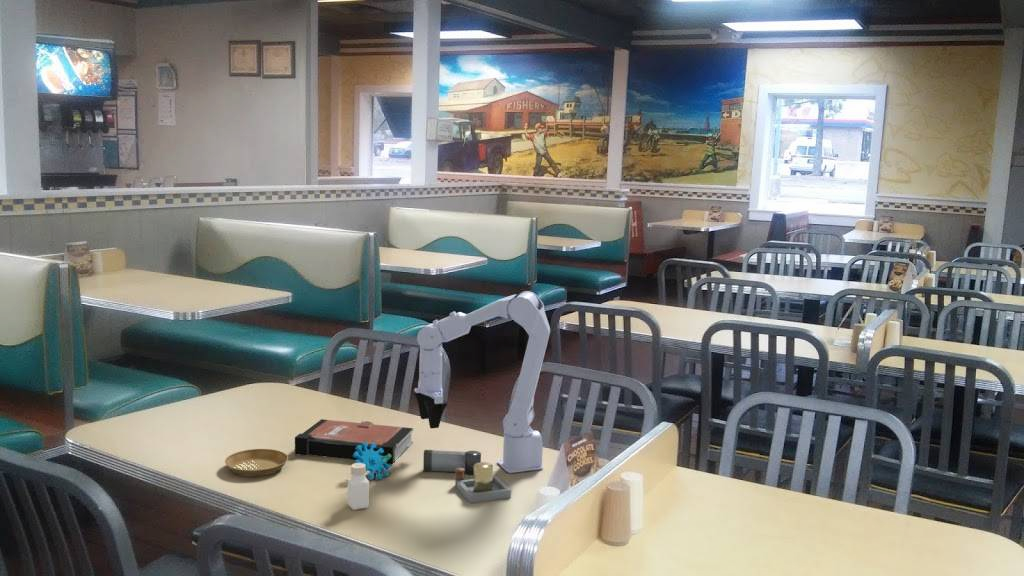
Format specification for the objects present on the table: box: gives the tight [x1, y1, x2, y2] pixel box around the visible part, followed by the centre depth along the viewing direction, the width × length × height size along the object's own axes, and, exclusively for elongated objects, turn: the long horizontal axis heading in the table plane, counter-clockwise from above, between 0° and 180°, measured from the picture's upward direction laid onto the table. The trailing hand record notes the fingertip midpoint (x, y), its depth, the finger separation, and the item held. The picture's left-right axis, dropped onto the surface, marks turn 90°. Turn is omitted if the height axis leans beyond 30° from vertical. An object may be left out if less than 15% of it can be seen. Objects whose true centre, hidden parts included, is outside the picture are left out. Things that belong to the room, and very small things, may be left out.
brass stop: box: [473, 461, 494, 493], centre depth 203 cm, size 4×4×6 cm
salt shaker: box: [347, 462, 370, 511], centre depth 193 cm, size 4×4×10 cm
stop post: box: [454, 468, 465, 488], centre depth 207 cm, size 2×2×4 cm
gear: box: [353, 442, 392, 481], centre depth 213 cm, size 11×6×10 cm
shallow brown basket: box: [224, 448, 289, 478], centre depth 214 cm, size 15×15×3 cm
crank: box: [422, 449, 482, 475], centre depth 216 cm, size 14×4×5 cm, turn 88°
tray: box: [456, 475, 512, 504], centre depth 203 cm, size 10×9×2 cm
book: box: [294, 418, 414, 465], centre depth 230 cm, size 26×18×5 cm
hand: (429, 423), depth 224 cm, fingers open, 7 cm apart
